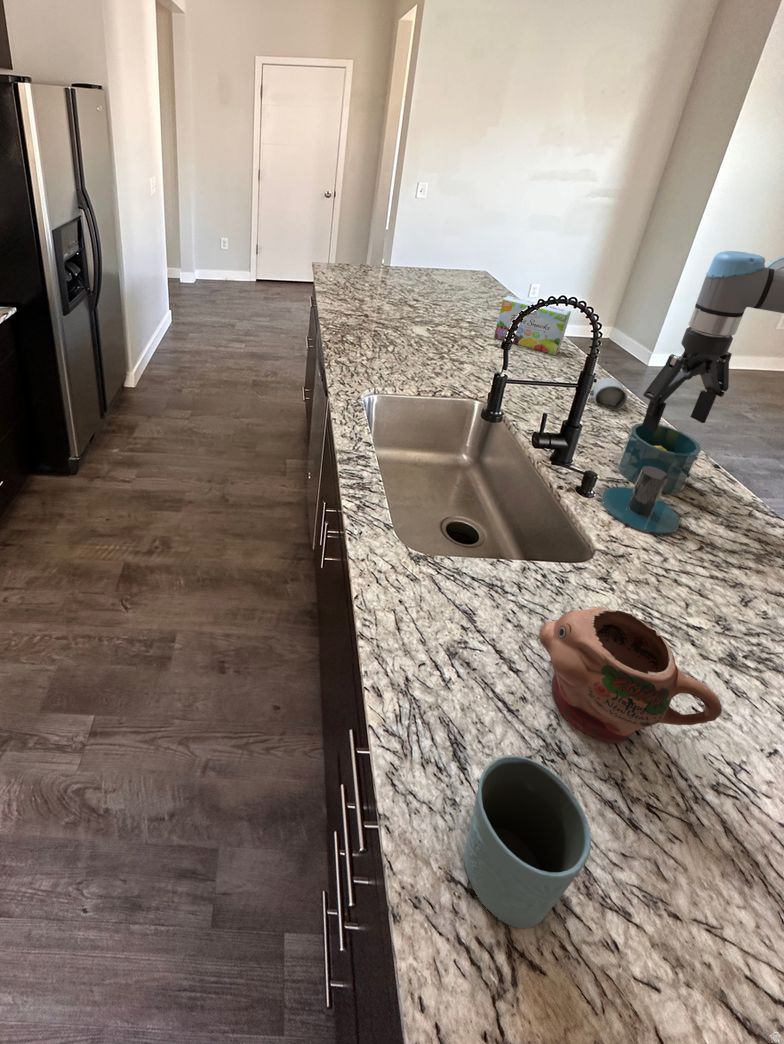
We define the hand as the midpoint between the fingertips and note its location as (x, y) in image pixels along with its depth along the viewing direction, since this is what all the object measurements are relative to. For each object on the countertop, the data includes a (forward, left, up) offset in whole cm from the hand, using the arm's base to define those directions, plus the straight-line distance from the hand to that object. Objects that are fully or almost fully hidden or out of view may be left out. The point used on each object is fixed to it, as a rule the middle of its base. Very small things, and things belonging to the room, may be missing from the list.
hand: (673, 423), depth 115 cm
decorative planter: (-40, +53, -15) cm, 68 cm away
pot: (0, 0, -14) cm, 14 cm away
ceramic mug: (+30, -16, -15) cm, 37 cm away
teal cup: (-51, +77, -15) cm, 94 cm away
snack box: (+71, -24, -15) cm, 76 cm away
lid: (-9, +13, -14) cm, 21 cm away
